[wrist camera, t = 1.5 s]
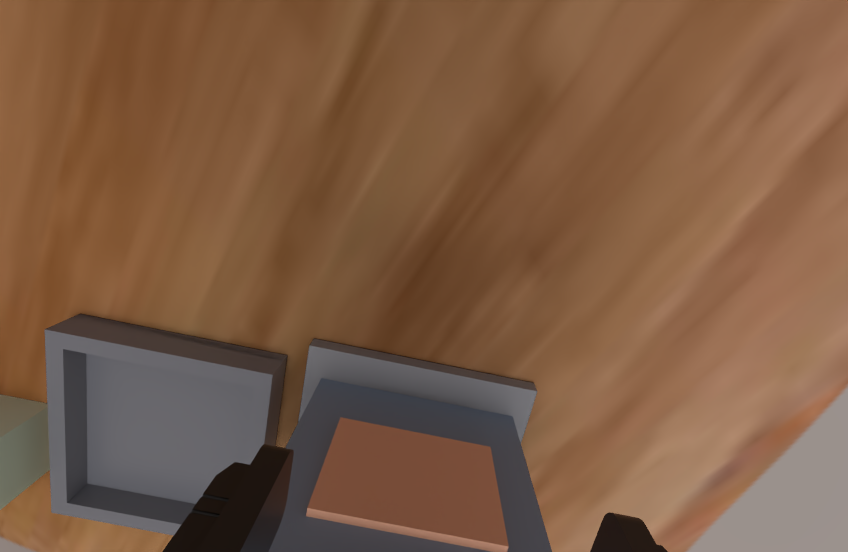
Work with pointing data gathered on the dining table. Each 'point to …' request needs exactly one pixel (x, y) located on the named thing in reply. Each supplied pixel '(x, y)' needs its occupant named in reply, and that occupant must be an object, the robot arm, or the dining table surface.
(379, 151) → the dining table surface
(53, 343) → the tray
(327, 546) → the block
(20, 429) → the sage block
